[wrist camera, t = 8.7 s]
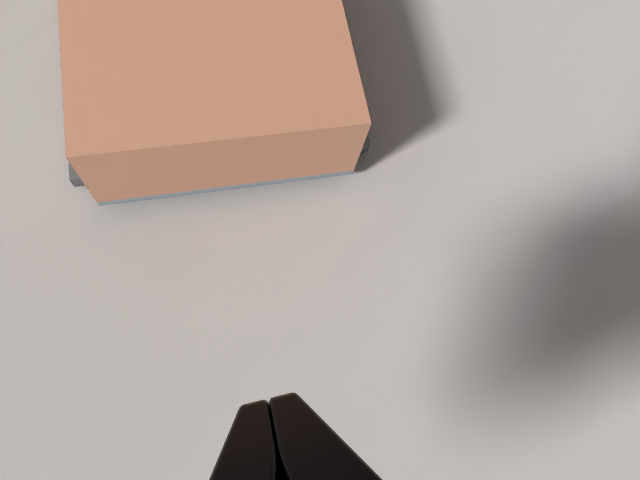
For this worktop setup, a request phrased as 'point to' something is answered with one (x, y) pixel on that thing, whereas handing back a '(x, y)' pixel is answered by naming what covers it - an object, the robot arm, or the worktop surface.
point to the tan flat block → (207, 94)
